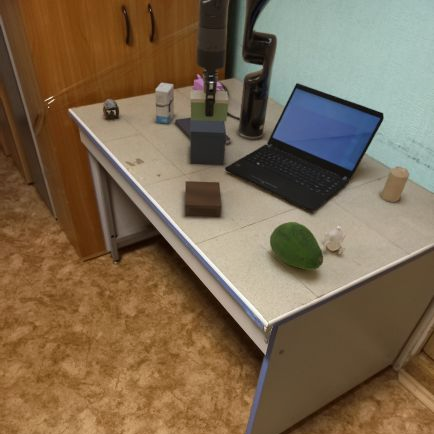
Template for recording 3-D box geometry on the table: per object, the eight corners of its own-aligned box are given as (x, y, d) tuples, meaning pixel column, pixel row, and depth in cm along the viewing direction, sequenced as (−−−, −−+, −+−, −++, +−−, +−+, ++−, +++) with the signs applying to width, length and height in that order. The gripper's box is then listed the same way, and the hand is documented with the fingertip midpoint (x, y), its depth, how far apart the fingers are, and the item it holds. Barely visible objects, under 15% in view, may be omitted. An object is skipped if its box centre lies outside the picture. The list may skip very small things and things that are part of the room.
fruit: (327, 272, 105) (338, 241, 98) (297, 286, 101) (306, 255, 94) (289, 239, 114) (296, 208, 107) (259, 251, 110) (265, 219, 102)
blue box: (190, 147, 147) (190, 116, 139) (221, 148, 148) (224, 117, 140) (190, 163, 139) (190, 131, 131) (223, 164, 140) (226, 132, 132)
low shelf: (185, 192, 127) (185, 181, 124) (218, 193, 127) (219, 182, 125) (184, 216, 118) (185, 204, 115) (220, 217, 119) (221, 205, 116)
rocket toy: (321, 253, 111) (328, 229, 105) (322, 241, 114) (329, 216, 109) (341, 257, 110) (350, 233, 104) (342, 244, 114) (350, 220, 108)
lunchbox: (190, 111, 122) (190, 89, 117) (225, 112, 123) (227, 91, 118) (190, 120, 118) (190, 98, 113) (227, 121, 119) (228, 100, 114)
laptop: (223, 172, 136) (228, 112, 122) (286, 136, 158) (296, 82, 144) (311, 215, 122) (328, 153, 109) (367, 169, 144) (387, 112, 130)
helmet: (117, 117, 163) (113, 98, 160) (123, 116, 156) (119, 96, 153) (103, 120, 160) (98, 100, 158) (108, 119, 154) (103, 98, 151)
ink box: (168, 124, 159) (167, 92, 150) (155, 122, 159) (154, 90, 151) (174, 115, 164) (174, 83, 156) (162, 113, 165) (161, 81, 157)
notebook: (175, 123, 159) (198, 149, 146) (175, 119, 158) (198, 144, 145) (205, 119, 164) (231, 143, 151) (205, 115, 163) (231, 139, 150)
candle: (400, 195, 133) (412, 166, 126) (397, 203, 130) (410, 174, 123) (382, 190, 135) (393, 161, 128) (379, 198, 131) (391, 169, 124)
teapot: (181, 98, 177) (181, 73, 170) (208, 93, 182) (210, 69, 175) (202, 115, 166) (203, 89, 159) (230, 110, 172) (232, 84, 165)
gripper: (228, 55, 102) (223, 123, 114) (224, 37, 112) (220, 101, 124) (197, 54, 102) (195, 122, 114) (196, 35, 112) (195, 100, 124)
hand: (208, 110), depth 119 cm, fingers closed on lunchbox, 6 cm apart
